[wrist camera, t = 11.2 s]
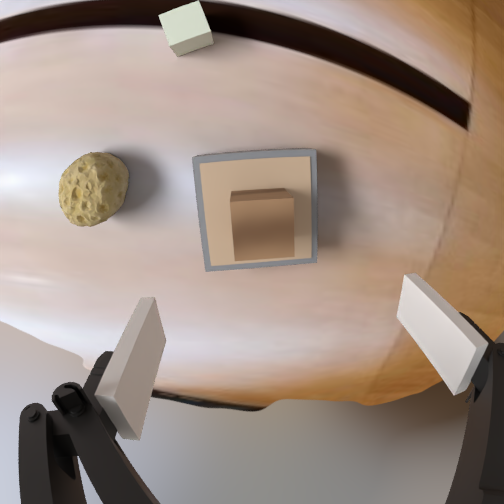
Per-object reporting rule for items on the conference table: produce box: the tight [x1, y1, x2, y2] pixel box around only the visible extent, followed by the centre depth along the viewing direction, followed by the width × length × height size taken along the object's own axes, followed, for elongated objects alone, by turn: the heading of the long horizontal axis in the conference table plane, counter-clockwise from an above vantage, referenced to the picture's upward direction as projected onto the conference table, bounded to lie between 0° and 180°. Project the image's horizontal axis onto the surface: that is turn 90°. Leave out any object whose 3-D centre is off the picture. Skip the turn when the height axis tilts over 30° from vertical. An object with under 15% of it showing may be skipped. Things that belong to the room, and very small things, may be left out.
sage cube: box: [159, 1, 214, 57], centre depth 28 cm, size 5×5×5 cm
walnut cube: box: [230, 188, 295, 261], centre depth 31 cm, size 6×6×6 cm
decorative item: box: [59, 152, 129, 227], centre depth 34 cm, size 10×10×10 cm
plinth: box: [192, 148, 318, 272], centre depth 36 cm, size 14×14×5 cm
